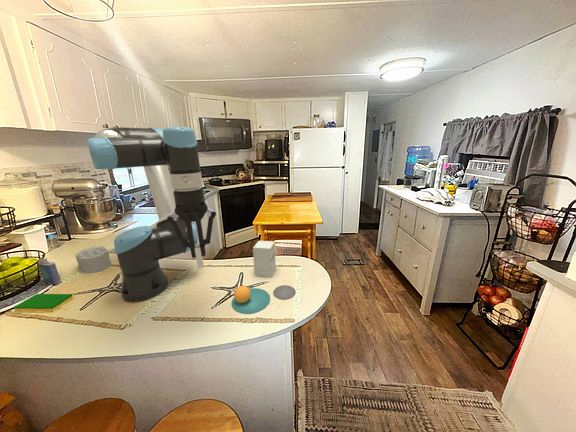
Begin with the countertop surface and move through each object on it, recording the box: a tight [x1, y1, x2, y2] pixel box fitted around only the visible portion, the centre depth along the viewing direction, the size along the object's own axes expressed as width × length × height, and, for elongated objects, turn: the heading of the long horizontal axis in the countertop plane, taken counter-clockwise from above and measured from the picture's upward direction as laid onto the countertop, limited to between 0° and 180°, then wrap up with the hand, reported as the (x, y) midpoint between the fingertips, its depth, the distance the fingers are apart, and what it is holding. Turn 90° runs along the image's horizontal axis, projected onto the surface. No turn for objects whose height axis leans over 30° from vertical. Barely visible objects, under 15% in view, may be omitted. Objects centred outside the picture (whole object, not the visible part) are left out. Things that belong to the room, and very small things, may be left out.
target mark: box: [231, 287, 271, 315], centre depth 76 cm, size 13×13×1 cm
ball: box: [233, 285, 251, 303], centre depth 75 cm, size 6×6×6 cm
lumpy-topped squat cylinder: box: [74, 245, 112, 274], centre depth 101 cm, size 10×13×9 cm
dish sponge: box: [13, 293, 75, 312], centre depth 77 cm, size 7×14×2 cm, turn 87°
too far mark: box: [272, 284, 296, 301], centre depth 80 cm, size 8×8×1 cm
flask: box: [37, 257, 62, 286], centre depth 89 cm, size 9×3×11 cm, turn 68°
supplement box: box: [252, 240, 277, 278], centre depth 92 cm, size 7×7×13 cm
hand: (200, 265), depth 67 cm, fingers closed
